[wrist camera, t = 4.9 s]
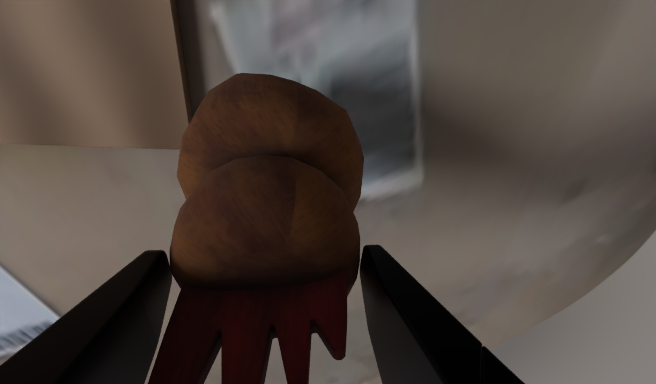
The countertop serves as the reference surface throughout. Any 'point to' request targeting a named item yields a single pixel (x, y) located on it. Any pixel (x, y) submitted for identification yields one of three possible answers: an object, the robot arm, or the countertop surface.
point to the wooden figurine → (262, 232)
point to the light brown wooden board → (92, 74)
